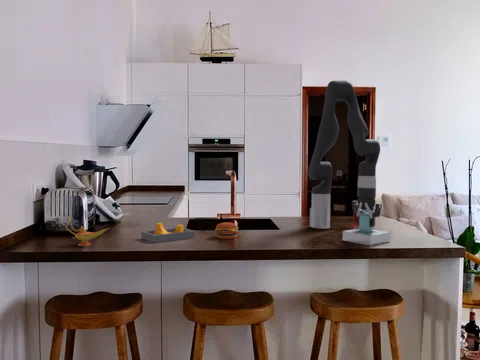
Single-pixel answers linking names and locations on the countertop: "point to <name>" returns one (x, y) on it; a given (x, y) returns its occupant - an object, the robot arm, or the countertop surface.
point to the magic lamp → (85, 234)
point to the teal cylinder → (364, 223)
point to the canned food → (355, 225)
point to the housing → (366, 237)
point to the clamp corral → (168, 235)
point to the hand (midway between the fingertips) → (365, 225)
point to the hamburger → (226, 230)
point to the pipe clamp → (161, 230)
